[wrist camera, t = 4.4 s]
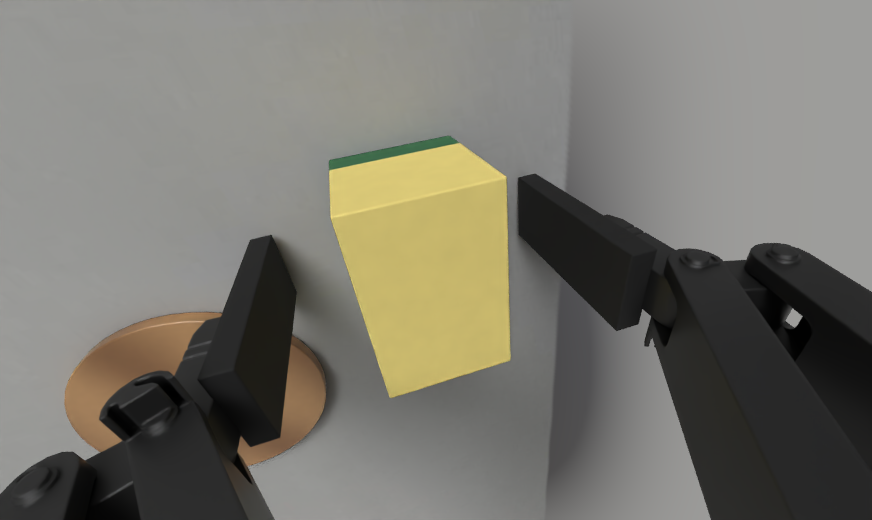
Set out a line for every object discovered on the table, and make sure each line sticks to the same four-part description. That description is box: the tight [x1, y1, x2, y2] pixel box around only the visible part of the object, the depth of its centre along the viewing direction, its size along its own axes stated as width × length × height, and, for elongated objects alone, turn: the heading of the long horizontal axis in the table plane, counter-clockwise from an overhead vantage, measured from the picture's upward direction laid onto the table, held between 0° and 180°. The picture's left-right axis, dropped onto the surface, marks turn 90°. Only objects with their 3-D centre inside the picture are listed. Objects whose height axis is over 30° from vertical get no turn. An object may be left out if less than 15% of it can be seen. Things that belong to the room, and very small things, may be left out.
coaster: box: [65, 312, 326, 466], centre depth 16 cm, size 10×10×1 cm
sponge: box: [329, 136, 510, 398], centre depth 13 cm, size 7×4×5 cm, turn 8°
